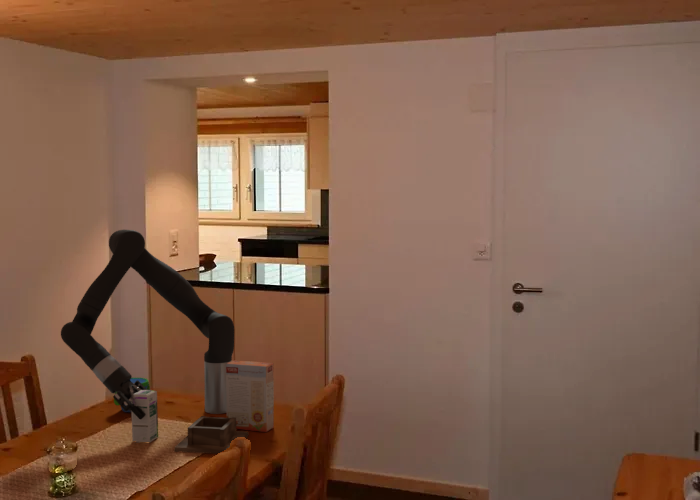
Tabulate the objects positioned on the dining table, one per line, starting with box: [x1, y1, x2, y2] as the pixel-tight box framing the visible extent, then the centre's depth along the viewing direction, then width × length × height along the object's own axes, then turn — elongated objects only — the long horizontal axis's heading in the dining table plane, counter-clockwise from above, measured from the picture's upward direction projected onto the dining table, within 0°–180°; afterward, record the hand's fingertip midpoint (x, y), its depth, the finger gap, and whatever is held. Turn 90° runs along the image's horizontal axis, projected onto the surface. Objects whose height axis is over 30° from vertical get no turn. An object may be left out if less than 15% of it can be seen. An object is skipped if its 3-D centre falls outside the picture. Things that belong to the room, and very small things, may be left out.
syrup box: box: [130, 389, 159, 443], centre depth 224 cm, size 6×6×14 cm
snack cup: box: [113, 377, 151, 413], centre depth 256 cm, size 16×10×10 cm
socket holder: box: [173, 415, 249, 455], centre depth 222 cm, size 17×17×6 cm
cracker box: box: [226, 360, 275, 433], centre depth 236 cm, size 14×6×21 cm, turn 71°
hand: (149, 413), depth 224 cm, fingers open, 8 cm apart
